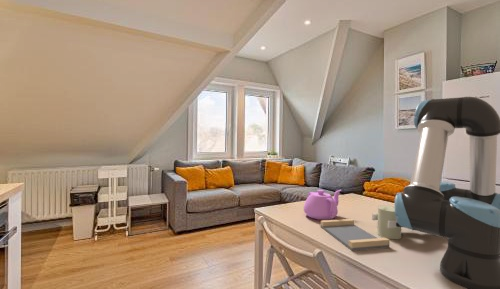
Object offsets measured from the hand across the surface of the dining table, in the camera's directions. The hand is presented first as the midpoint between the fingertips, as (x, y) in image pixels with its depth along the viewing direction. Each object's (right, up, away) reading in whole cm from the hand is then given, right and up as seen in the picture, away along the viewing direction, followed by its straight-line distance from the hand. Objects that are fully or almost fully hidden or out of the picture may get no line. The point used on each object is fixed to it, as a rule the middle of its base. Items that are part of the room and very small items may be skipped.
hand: (380, 220), depth 106 cm
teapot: (-16, -6, +26) cm, 31 cm away
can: (+4, -7, +1) cm, 8 cm away
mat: (-13, -6, -1) cm, 14 cm away
